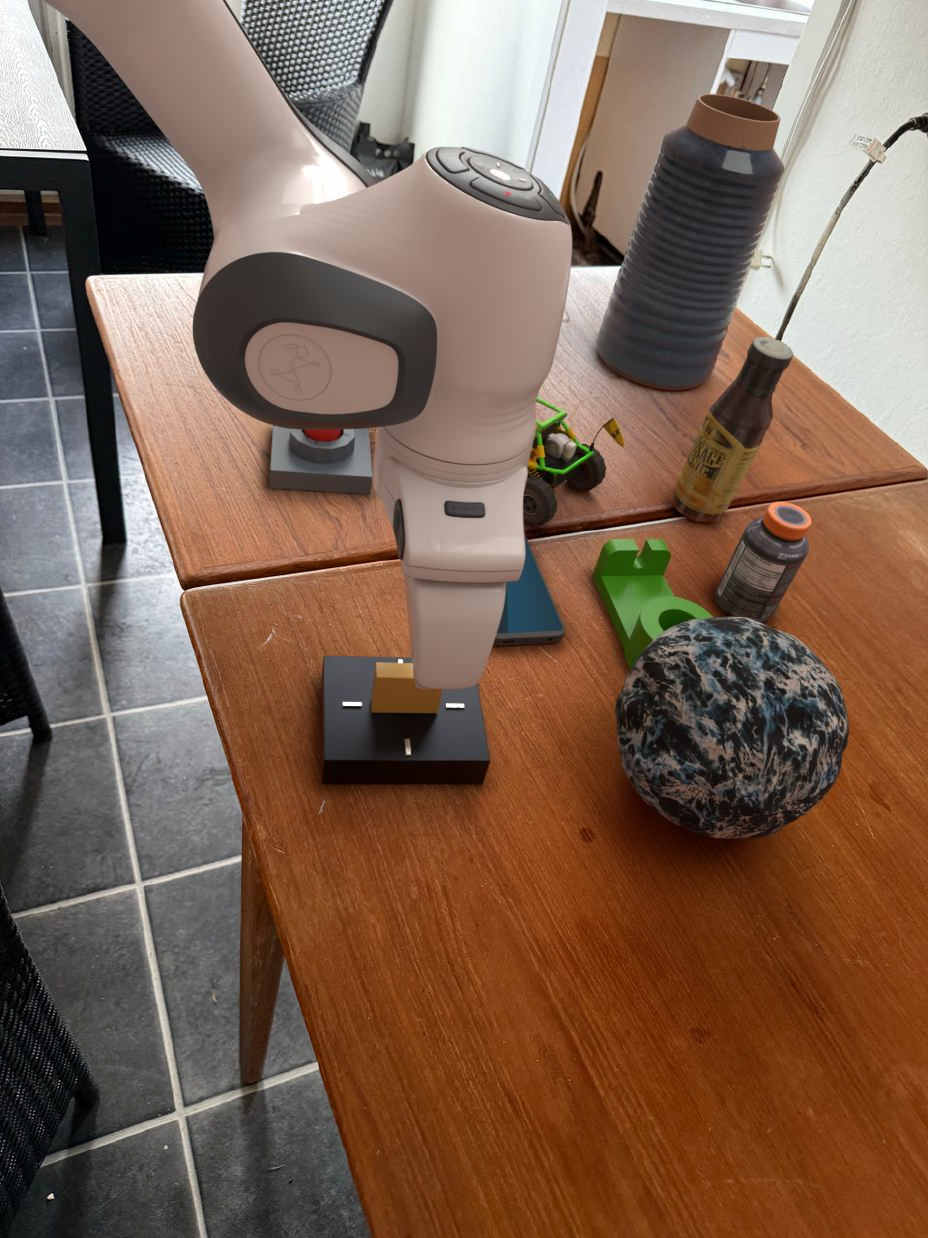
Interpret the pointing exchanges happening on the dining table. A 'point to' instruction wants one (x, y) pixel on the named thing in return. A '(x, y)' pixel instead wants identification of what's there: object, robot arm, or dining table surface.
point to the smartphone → (529, 609)
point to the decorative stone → (730, 727)
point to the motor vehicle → (560, 465)
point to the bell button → (323, 435)
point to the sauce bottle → (731, 434)
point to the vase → (692, 244)
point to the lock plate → (396, 732)
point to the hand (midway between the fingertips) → (421, 629)
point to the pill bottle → (764, 563)
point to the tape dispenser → (640, 593)
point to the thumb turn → (401, 691)
